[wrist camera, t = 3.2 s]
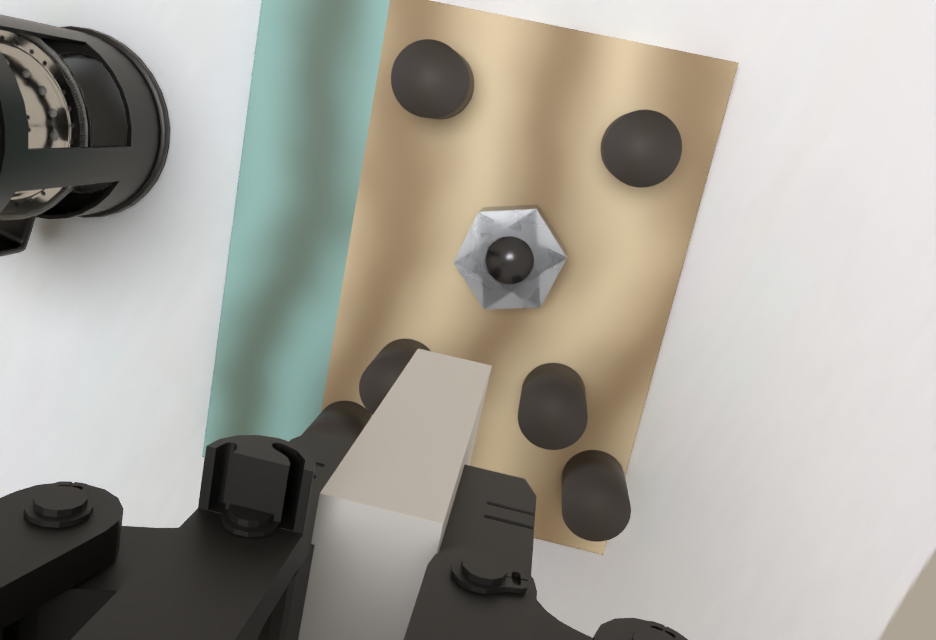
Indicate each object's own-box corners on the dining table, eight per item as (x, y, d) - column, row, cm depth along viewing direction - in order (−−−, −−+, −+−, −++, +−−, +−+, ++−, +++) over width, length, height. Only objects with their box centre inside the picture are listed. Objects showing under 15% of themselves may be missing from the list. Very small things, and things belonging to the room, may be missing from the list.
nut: (462, 299, 39) (455, 310, 37) (456, 208, 38) (449, 213, 36) (568, 296, 39) (568, 307, 36) (565, 203, 38) (565, 207, 35)
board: (210, 449, 44) (171, 484, 40) (273, -29, 38) (235, -50, 33) (604, 545, 42) (608, 592, 38) (736, 65, 36) (759, 55, 32)
